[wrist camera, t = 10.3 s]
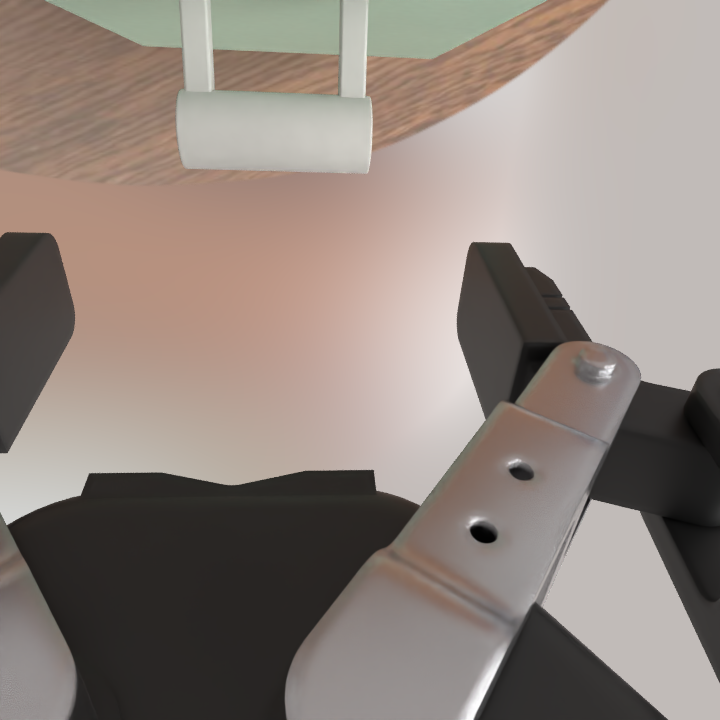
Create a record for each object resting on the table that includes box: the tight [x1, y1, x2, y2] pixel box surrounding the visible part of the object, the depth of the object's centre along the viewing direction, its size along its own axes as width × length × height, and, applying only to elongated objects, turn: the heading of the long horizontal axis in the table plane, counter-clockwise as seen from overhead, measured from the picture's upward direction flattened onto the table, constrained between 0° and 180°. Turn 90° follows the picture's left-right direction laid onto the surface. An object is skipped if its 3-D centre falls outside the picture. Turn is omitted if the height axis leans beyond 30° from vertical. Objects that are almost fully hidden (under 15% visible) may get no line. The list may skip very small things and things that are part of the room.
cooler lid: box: [45, 0, 547, 174], centre depth 22 cm, size 18×14×5 cm
